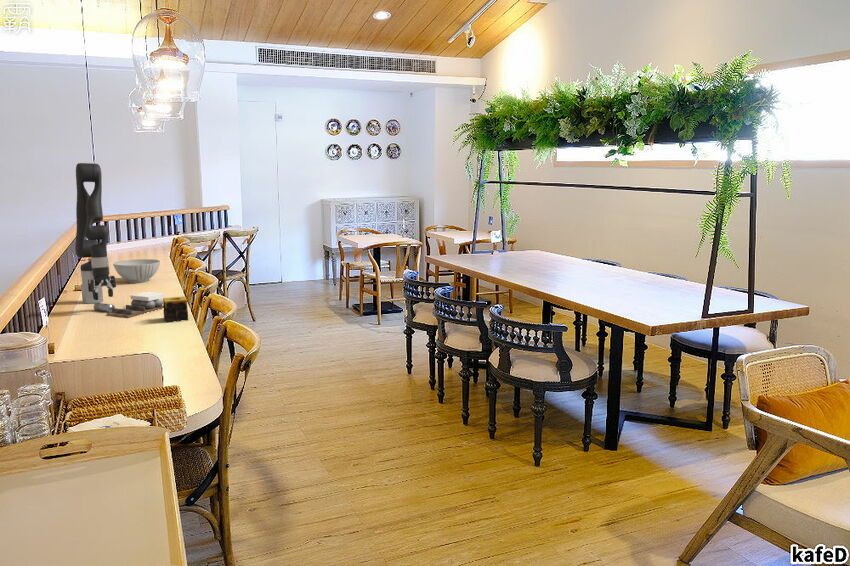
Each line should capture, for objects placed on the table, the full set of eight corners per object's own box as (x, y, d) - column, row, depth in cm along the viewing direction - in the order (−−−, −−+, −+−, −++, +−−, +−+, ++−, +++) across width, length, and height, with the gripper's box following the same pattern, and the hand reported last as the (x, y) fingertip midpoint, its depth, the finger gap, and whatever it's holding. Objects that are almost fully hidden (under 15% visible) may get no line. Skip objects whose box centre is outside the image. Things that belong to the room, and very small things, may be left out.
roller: (93, 310, 324) (93, 302, 324) (100, 310, 328) (100, 302, 328) (107, 312, 320) (108, 304, 320) (114, 312, 324) (115, 304, 324)
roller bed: (106, 315, 315) (105, 305, 314) (145, 305, 337) (145, 296, 336) (128, 318, 310) (127, 307, 309) (166, 307, 331) (165, 298, 330)
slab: (130, 299, 326) (130, 295, 326) (146, 295, 335) (146, 291, 335) (148, 301, 322) (148, 297, 321) (164, 297, 331) (163, 293, 330)
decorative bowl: (150, 285, 394) (148, 265, 392) (106, 285, 395) (104, 265, 393) (168, 277, 421) (166, 259, 419) (127, 277, 421) (125, 259, 419)
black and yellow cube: (165, 323, 300) (164, 301, 298) (163, 318, 309) (161, 297, 307) (188, 320, 305) (187, 299, 303) (185, 316, 314) (184, 295, 312)
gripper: (106, 263, 328) (109, 295, 331) (82, 267, 315) (85, 300, 318) (117, 264, 325) (120, 296, 328) (93, 268, 312) (96, 301, 315)
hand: (103, 298), depth 323 cm, fingers open, 8 cm apart
